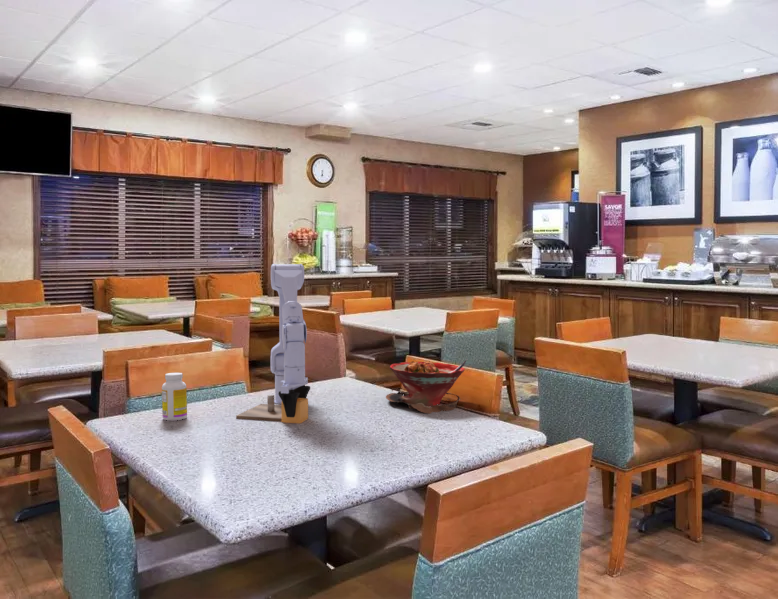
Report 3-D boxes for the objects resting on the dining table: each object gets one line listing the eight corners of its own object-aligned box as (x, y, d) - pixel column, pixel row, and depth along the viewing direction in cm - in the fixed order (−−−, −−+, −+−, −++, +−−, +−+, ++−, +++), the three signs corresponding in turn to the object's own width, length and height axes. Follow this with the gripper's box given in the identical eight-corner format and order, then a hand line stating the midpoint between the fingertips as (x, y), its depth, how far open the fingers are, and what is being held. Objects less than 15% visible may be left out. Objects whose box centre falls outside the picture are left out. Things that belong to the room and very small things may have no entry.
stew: (488, 408, 200) (488, 356, 199) (428, 420, 185) (428, 363, 185) (428, 394, 222) (428, 346, 221) (370, 403, 208) (370, 352, 207)
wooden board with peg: (261, 407, 201) (260, 389, 201) (303, 409, 198) (303, 391, 198) (236, 419, 186) (235, 399, 186) (282, 422, 182) (281, 402, 182)
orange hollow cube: (289, 418, 187) (289, 397, 187) (308, 419, 186) (308, 398, 185) (281, 422, 182) (281, 401, 181) (300, 424, 180) (300, 402, 180)
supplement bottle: (190, 416, 189) (190, 372, 189) (181, 421, 183) (180, 376, 182) (168, 415, 190) (167, 371, 189) (158, 421, 183) (157, 375, 183)
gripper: (291, 361, 191) (291, 407, 191) (270, 369, 177) (270, 419, 177) (314, 362, 189) (314, 409, 190) (294, 370, 175) (295, 421, 176)
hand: (294, 414), depth 183 cm, fingers closed on orange hollow cube, 6 cm apart
